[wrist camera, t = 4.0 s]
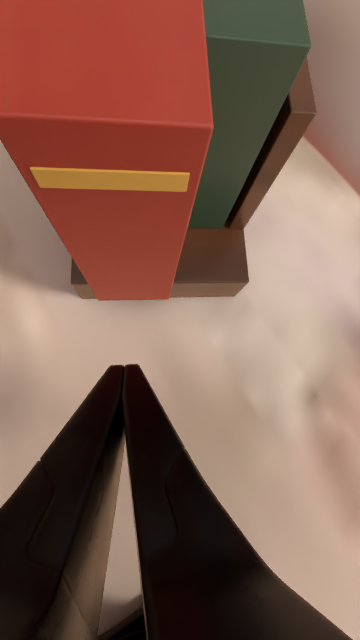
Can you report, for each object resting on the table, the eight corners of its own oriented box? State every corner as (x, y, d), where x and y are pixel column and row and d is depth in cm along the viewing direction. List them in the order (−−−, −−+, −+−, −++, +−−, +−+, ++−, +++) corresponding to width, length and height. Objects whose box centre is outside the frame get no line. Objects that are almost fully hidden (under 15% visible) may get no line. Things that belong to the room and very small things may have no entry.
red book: (169, 300, 16) (215, 129, 5) (97, 301, 16) (-19, 117, 5) (162, 150, 18) (186, -202, 7) (99, 147, 18) (20, -233, 7)
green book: (222, 229, 18) (312, 46, 8) (170, 228, 17) (200, 35, 8) (210, 97, 20) (271, -176, 10) (164, 94, 19) (182, -193, 10)
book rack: (234, 296, 20) (333, 201, 9) (82, 299, 19) (-2, 192, 8) (218, 121, 23) (279, -102, 12) (86, 113, 22) (28, -142, 11)
